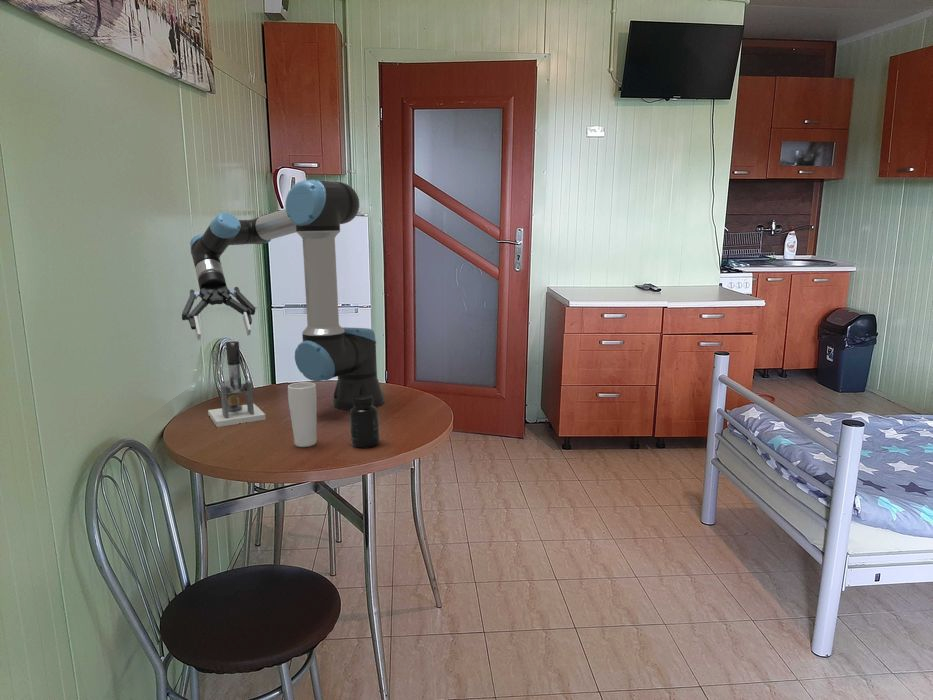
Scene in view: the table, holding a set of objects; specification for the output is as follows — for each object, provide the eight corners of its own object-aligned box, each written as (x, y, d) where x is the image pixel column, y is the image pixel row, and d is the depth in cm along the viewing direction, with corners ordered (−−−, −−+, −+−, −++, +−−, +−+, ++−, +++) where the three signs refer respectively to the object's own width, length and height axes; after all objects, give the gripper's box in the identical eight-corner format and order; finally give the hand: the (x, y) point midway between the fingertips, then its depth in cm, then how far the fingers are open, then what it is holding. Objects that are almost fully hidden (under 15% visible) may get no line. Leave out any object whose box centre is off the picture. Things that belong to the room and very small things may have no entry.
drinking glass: (324, 445, 167) (320, 385, 164) (297, 450, 163) (293, 389, 160) (313, 438, 172) (309, 380, 170) (287, 443, 169) (283, 384, 166)
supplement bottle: (370, 438, 172) (368, 391, 169) (384, 444, 166) (382, 396, 164) (346, 443, 167) (343, 396, 165) (360, 450, 162) (357, 401, 160)
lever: (221, 388, 195) (217, 339, 192) (240, 385, 197) (236, 337, 194) (227, 395, 186) (223, 344, 184) (247, 392, 189) (243, 342, 186)
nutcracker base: (208, 415, 196) (205, 379, 194) (254, 408, 202) (251, 373, 200) (217, 427, 184) (213, 389, 182) (265, 419, 190) (262, 383, 188)
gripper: (252, 284, 212) (267, 338, 202) (165, 289, 200) (177, 347, 190) (255, 267, 206) (270, 322, 196) (165, 272, 195) (177, 330, 184)
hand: (224, 334), depth 193 cm, fingers open, 13 cm apart
